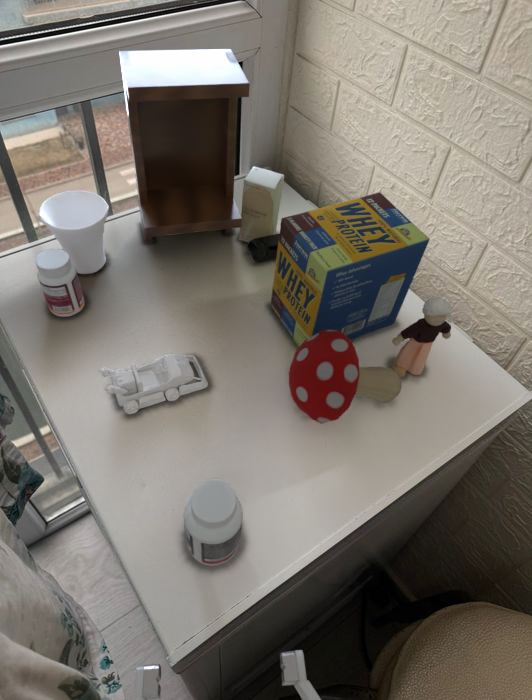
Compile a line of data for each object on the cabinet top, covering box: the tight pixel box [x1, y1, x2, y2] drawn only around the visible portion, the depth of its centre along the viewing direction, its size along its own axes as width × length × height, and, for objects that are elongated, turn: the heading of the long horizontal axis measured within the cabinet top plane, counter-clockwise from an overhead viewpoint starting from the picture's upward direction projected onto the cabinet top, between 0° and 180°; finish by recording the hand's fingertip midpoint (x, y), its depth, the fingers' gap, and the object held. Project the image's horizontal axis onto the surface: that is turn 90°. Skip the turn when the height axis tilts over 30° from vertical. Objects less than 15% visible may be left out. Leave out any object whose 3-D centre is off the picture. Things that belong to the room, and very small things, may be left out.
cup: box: [35, 189, 110, 275], centre depth 71 cm, size 9×9×10 cm
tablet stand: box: [246, 232, 280, 264], centre depth 80 cm, size 18×3×3 cm, turn 113°
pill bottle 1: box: [34, 247, 85, 318], centre depth 66 cm, size 5×5×8 cm
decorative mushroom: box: [288, 329, 403, 425], centre depth 60 cm, size 11×11×15 cm
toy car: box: [98, 353, 209, 415], centre depth 61 cm, size 6×12×4 cm, turn 114°
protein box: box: [269, 192, 431, 348], centre depth 67 cm, size 10×15×16 cm
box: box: [238, 165, 285, 243], centre depth 78 cm, size 5×4×11 cm
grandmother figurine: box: [390, 296, 453, 378], centre depth 63 cm, size 8×4×13 cm, turn 114°
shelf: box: [118, 48, 251, 244], centre depth 70 cm, size 14×10×26 cm
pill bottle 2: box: [183, 478, 244, 567], centre depth 47 cm, size 5×5×10 cm
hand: (221, 658), depth 34 cm, fingers open, 8 cm apart
